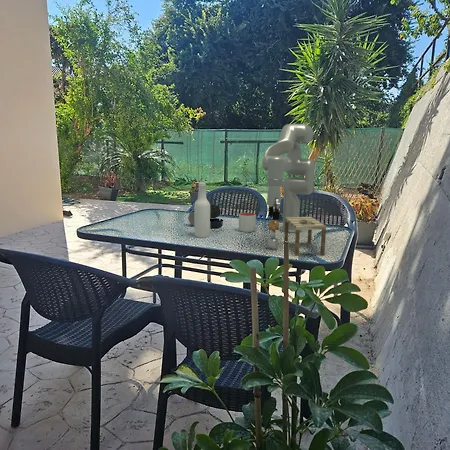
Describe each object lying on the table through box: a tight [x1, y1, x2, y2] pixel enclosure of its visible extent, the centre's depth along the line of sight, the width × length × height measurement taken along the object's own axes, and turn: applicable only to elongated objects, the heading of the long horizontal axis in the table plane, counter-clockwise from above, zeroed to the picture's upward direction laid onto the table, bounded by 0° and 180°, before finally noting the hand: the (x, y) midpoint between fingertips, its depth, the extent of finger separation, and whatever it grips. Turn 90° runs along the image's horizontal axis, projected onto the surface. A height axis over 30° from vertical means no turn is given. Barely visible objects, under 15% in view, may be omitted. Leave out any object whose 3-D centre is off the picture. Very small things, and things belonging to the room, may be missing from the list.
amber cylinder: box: [267, 219, 280, 251], centre depth 198 cm, size 5×5×14 cm
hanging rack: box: [283, 216, 327, 257], centre depth 197 cm, size 22×14×14 cm, turn 5°
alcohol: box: [193, 181, 211, 239], centre depth 220 cm, size 9×9×30 cm
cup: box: [238, 212, 257, 233], centre depth 235 cm, size 10×10×10 cm
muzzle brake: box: [187, 204, 222, 226], centre depth 256 cm, size 10×28×10 cm, turn 154°
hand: (273, 217), depth 195 cm, fingers open, 9 cm apart
